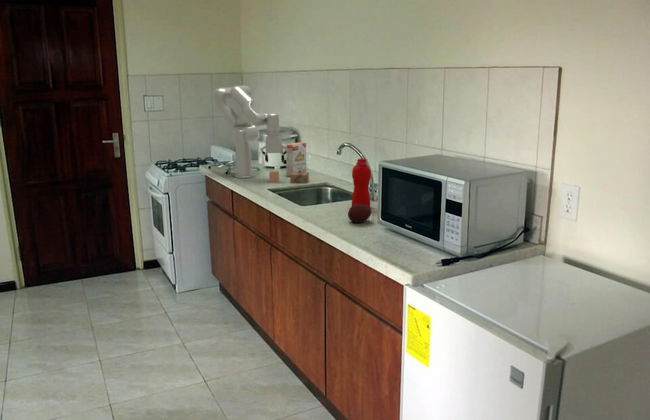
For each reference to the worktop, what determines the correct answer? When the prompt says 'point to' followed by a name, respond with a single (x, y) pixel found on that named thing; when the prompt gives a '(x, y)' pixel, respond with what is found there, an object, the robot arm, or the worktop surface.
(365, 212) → the potato
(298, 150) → the cracker box
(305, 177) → the walnut base
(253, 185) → the worktop surface
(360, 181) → the water bottle
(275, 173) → the terracotta block
